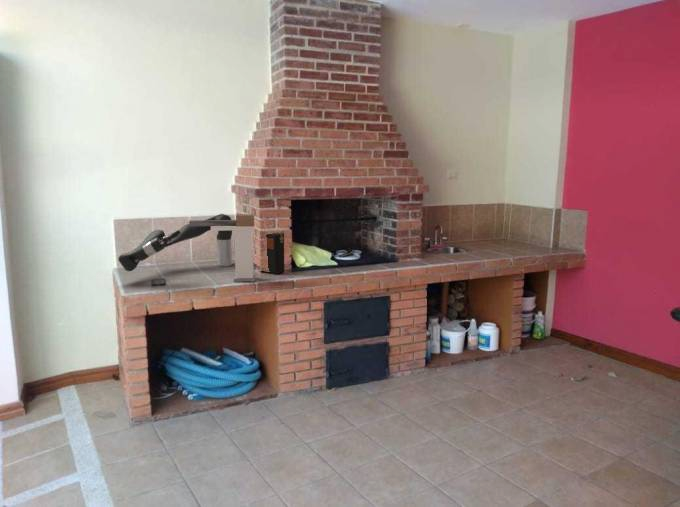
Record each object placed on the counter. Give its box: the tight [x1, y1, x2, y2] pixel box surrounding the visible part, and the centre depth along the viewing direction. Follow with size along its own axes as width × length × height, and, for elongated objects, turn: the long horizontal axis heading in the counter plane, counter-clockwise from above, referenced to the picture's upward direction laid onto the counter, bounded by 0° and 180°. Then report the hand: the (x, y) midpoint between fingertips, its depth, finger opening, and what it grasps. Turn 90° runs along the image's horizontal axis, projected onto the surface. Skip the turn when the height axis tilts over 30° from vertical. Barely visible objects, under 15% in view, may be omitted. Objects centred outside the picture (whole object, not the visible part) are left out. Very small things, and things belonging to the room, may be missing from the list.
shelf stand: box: [210, 225, 256, 283], centre depth 312 cm, size 10×24×32 cm, turn 98°
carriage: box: [188, 213, 255, 227], centre depth 308 cm, size 7×36×6 cm, turn 98°
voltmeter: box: [266, 232, 285, 275], centre depth 334 cm, size 16×9×25 cm, turn 59°
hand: (178, 232), depth 306 cm, fingers open, 8 cm apart
